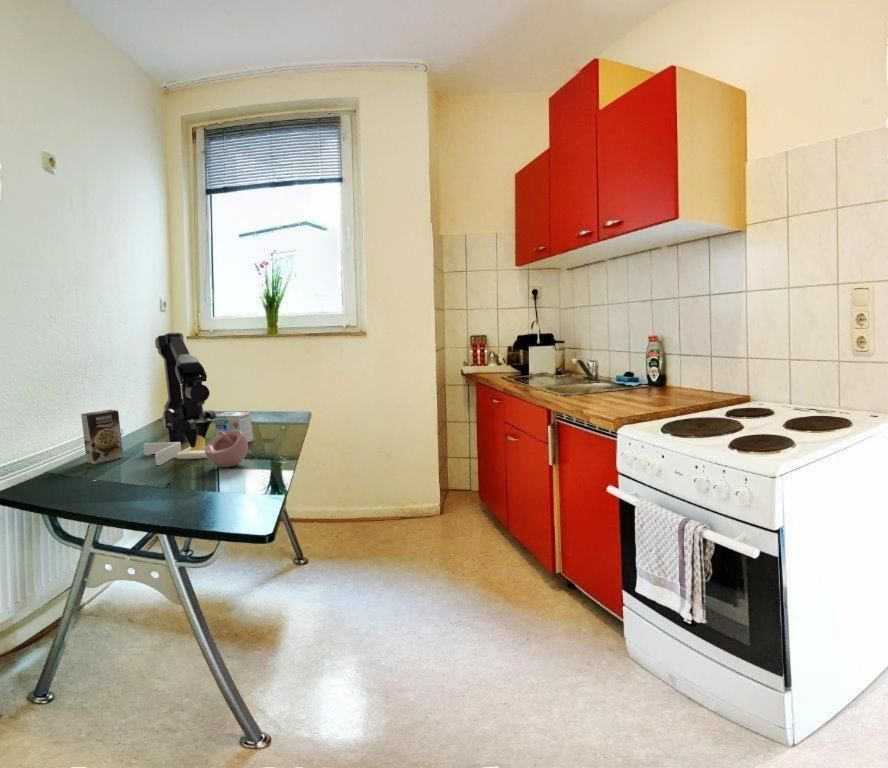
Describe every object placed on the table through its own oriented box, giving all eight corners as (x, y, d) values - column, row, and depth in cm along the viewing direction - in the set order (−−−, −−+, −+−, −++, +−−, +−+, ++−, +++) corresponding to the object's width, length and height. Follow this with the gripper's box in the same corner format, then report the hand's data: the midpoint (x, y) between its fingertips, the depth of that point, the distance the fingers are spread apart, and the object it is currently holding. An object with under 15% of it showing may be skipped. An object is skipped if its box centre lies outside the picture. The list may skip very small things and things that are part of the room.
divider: (146, 454, 177) (144, 443, 176) (182, 453, 177) (181, 441, 176) (119, 467, 163) (117, 454, 162) (158, 465, 162) (157, 453, 162)
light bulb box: (216, 444, 188) (213, 414, 187) (229, 439, 195) (226, 411, 193) (241, 445, 185) (238, 415, 184) (253, 440, 192) (251, 411, 190)
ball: (194, 448, 176) (192, 433, 176) (208, 447, 176) (207, 433, 176) (186, 452, 172) (185, 437, 171) (201, 451, 171) (200, 436, 171)
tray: (190, 451, 179) (190, 446, 179) (219, 450, 179) (219, 445, 179) (175, 459, 169) (175, 454, 169) (206, 458, 169) (205, 453, 169)
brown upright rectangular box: (93, 464, 167) (87, 415, 165) (86, 461, 171) (79, 413, 169) (124, 457, 174) (118, 410, 172) (116, 455, 178) (110, 408, 176)
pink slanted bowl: (198, 470, 156) (194, 432, 154) (231, 459, 166) (227, 424, 165) (225, 474, 150) (221, 435, 149) (258, 463, 160) (254, 426, 159)
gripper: (182, 395, 181) (187, 439, 183) (152, 405, 163) (157, 453, 165) (214, 394, 181) (218, 438, 183) (187, 403, 162) (192, 452, 164)
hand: (197, 445), depth 174 cm, fingers open, 5 cm apart
